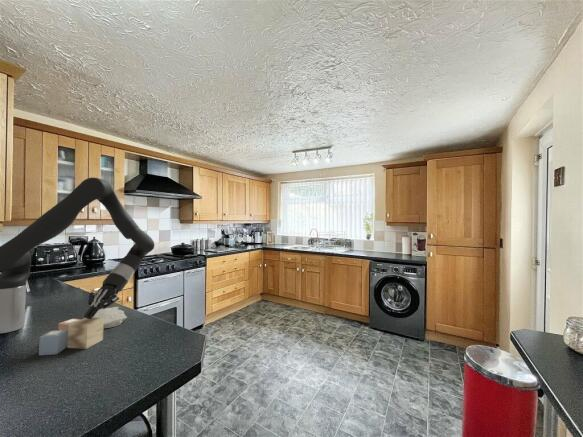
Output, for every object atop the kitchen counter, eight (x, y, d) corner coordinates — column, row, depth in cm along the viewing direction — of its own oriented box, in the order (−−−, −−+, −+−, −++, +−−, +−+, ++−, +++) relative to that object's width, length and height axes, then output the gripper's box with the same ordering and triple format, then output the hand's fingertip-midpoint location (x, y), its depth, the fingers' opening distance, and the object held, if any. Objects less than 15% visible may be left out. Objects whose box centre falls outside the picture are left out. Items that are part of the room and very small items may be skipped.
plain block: (67, 347, 87) (68, 324, 87) (85, 338, 94) (86, 317, 94) (86, 348, 86) (87, 325, 87) (102, 339, 93) (103, 318, 94)
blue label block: (38, 355, 82) (39, 336, 82) (50, 348, 87) (51, 330, 87) (56, 354, 83) (57, 335, 83) (66, 347, 87) (67, 329, 88)
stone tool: (87, 317, 118) (91, 332, 99) (87, 308, 118) (92, 322, 100) (120, 311, 127) (129, 325, 108) (120, 303, 127) (130, 315, 108)
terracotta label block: (57, 339, 93) (58, 322, 93) (72, 334, 98) (73, 318, 98) (67, 341, 92) (68, 324, 92) (82, 335, 97) (82, 319, 97)
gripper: (100, 271, 102) (65, 311, 90) (126, 273, 98) (93, 314, 86) (112, 281, 107) (80, 320, 95) (137, 283, 103) (108, 324, 91)
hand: (87, 317), depth 90 cm, fingers closed
